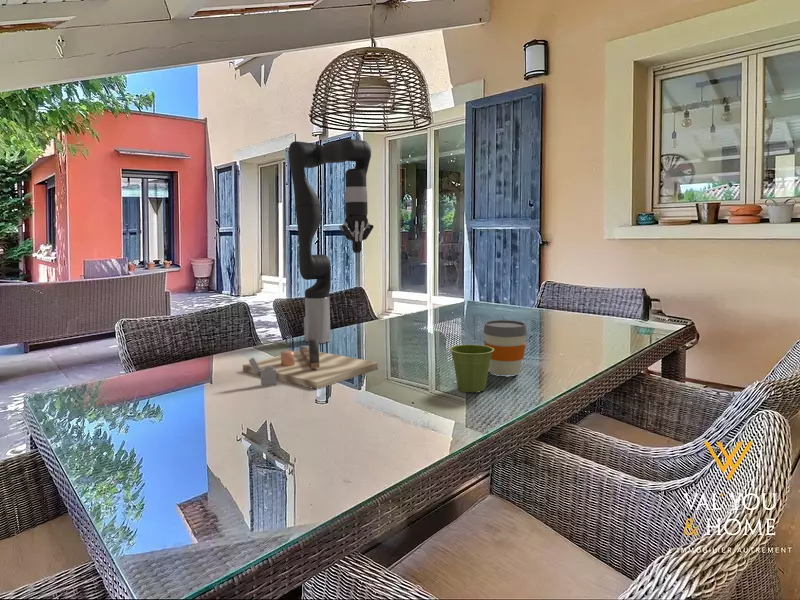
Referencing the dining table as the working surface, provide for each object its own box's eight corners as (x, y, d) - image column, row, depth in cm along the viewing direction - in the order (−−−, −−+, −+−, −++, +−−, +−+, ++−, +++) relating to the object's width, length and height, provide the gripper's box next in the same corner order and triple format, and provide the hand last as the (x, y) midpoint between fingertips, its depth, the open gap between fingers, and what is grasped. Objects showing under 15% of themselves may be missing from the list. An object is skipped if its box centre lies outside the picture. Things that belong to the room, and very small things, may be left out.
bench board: (242, 371, 164) (242, 364, 164) (305, 354, 185) (305, 349, 185) (317, 389, 145) (316, 382, 145) (377, 368, 166) (377, 362, 166)
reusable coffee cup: (494, 365, 169) (495, 318, 167) (532, 371, 161) (533, 322, 159) (475, 374, 159) (476, 324, 157) (515, 381, 151) (516, 329, 149)
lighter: (276, 383, 151) (275, 355, 150) (276, 385, 150) (275, 357, 149) (250, 385, 149) (248, 357, 148) (250, 387, 148) (248, 359, 147)
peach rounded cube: (278, 365, 163) (277, 352, 163) (288, 362, 167) (288, 349, 166) (287, 367, 161) (286, 354, 160) (297, 364, 164) (296, 351, 164)
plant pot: (500, 387, 146) (501, 346, 144) (482, 399, 136) (483, 355, 135) (461, 381, 152) (461, 342, 151) (441, 392, 142) (441, 350, 141)
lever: (299, 352, 177) (298, 328, 176) (308, 351, 178) (307, 327, 177) (310, 368, 157) (309, 341, 155) (320, 367, 157) (319, 340, 156)
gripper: (366, 201, 187) (366, 251, 190) (333, 201, 179) (334, 253, 182) (378, 201, 181) (379, 252, 184) (345, 200, 173) (346, 254, 176)
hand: (357, 252), depth 183 cm, fingers closed
